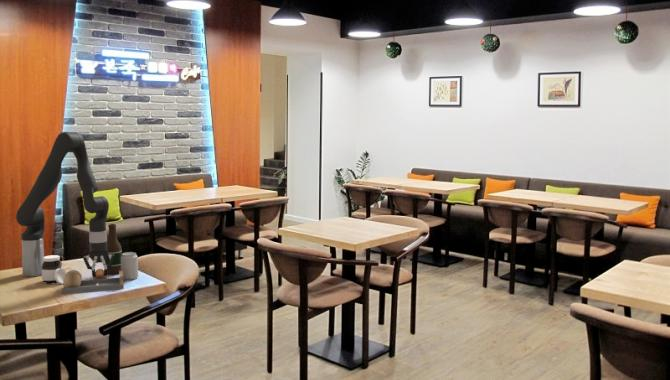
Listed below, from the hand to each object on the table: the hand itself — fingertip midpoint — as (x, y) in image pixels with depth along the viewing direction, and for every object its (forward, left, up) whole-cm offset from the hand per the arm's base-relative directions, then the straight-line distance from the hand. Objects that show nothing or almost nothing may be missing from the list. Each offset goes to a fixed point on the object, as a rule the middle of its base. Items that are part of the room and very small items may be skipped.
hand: (99, 277), depth 286 cm
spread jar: (-19, +5, -2) cm, 20 cm away
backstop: (+9, -10, -2) cm, 13 cm away
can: (+13, +1, -2) cm, 13 cm away
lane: (-3, -10, -2) cm, 10 cm away
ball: (0, 0, +2) cm, 2 cm away
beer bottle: (+6, +13, -2) cm, 15 cm away
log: (-11, -10, -2) cm, 15 cm away
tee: (0, 0, -2) cm, 2 cm away
